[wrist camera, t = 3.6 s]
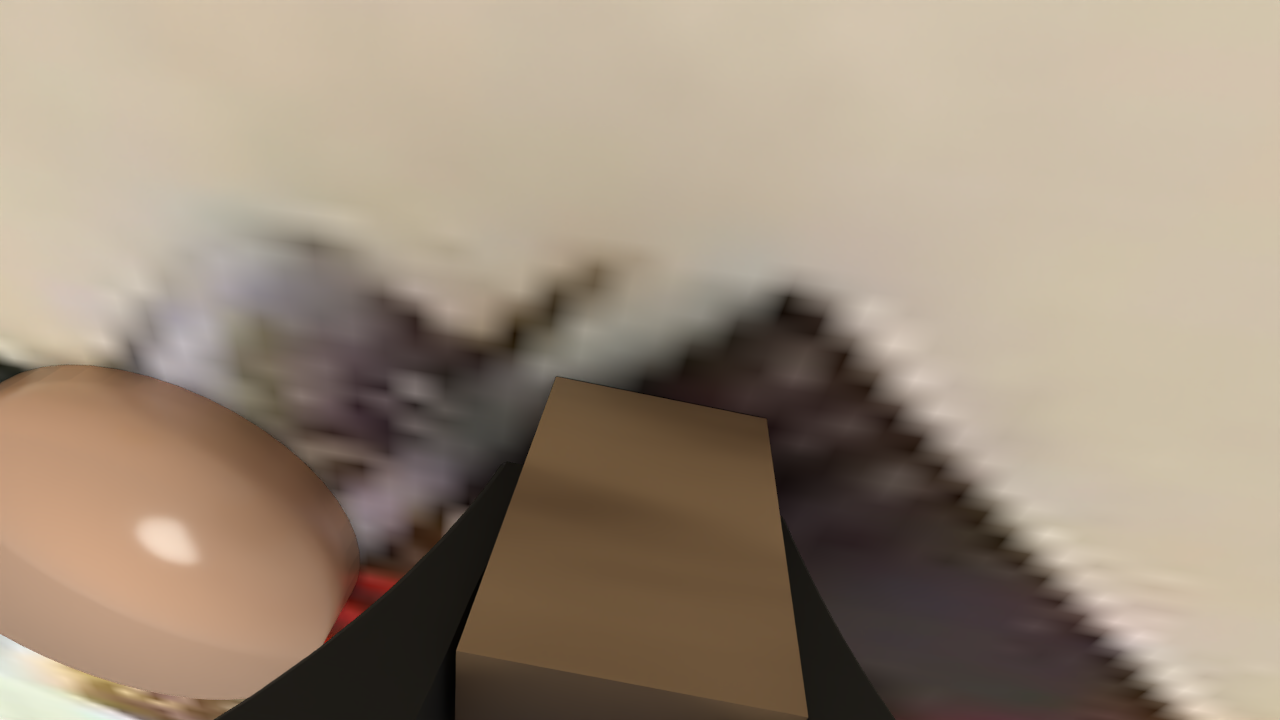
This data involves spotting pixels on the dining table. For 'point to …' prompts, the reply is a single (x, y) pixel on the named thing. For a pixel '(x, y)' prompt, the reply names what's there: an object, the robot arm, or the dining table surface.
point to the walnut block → (636, 572)
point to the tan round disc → (161, 536)
